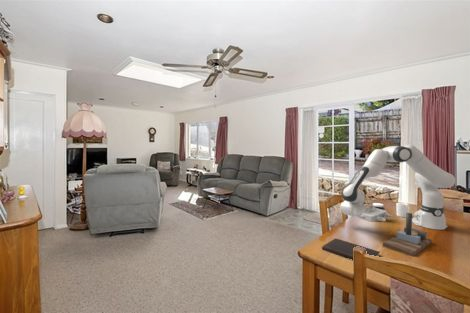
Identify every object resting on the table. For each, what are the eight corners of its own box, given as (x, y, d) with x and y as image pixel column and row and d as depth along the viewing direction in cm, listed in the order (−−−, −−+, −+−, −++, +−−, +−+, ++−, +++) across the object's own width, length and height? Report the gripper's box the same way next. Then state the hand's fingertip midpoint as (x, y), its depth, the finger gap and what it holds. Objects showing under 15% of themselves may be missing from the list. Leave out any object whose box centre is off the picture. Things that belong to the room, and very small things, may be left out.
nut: (404, 236, 137) (405, 229, 137) (414, 237, 136) (414, 230, 136) (409, 239, 132) (410, 233, 132) (419, 240, 131) (419, 233, 131)
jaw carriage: (417, 244, 125) (418, 216, 125) (396, 238, 134) (397, 212, 133) (420, 242, 128) (421, 215, 127) (399, 236, 136) (400, 210, 135)
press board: (412, 256, 117) (413, 244, 116) (382, 246, 128) (383, 235, 128) (431, 242, 132) (431, 232, 132) (403, 235, 144) (403, 225, 144)
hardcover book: (335, 242, 135) (335, 238, 135) (379, 256, 118) (379, 251, 118) (321, 250, 124) (322, 246, 124) (368, 267, 107) (368, 262, 107)
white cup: (409, 218, 178) (410, 205, 177) (397, 216, 180) (397, 204, 180) (405, 215, 185) (406, 202, 185) (394, 214, 188) (394, 202, 187)
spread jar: (386, 219, 175) (386, 204, 174) (383, 223, 166) (384, 207, 166) (368, 216, 183) (368, 201, 182) (365, 219, 174) (365, 204, 173)
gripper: (357, 210, 144) (381, 216, 132) (372, 205, 155) (396, 210, 144) (356, 220, 144) (380, 227, 133) (372, 215, 156) (395, 220, 144)
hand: (389, 218), depth 138 cm, fingers open, 8 cm apart
